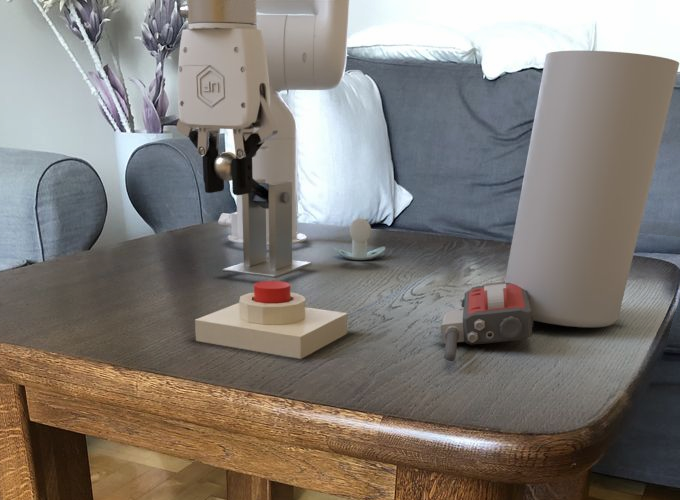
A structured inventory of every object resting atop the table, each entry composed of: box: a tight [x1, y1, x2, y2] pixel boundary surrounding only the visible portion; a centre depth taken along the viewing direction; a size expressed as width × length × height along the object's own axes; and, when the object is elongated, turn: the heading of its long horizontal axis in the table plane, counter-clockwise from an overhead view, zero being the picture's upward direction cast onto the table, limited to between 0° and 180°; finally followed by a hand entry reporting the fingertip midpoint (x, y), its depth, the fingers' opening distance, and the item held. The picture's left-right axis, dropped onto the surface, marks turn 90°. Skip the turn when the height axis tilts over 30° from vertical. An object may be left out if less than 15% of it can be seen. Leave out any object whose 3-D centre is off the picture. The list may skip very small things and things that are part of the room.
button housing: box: [194, 291, 348, 360], centre depth 82 cm, size 12×10×4 cm
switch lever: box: [214, 151, 269, 209], centre depth 101 cm, size 13×3×3 cm, turn 152°
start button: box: [253, 280, 291, 304], centre depth 81 cm, size 4×4×2 cm
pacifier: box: [333, 217, 386, 261], centre depth 115 cm, size 7×6×6 cm
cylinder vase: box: [504, 50, 680, 328], centre depth 85 cm, size 12×12×25 cm
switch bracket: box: [222, 179, 312, 279], centre depth 108 cm, size 10×8×12 cm
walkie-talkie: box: [440, 279, 534, 362], centre depth 81 cm, size 9×4×20 cm
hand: (228, 191), depth 98 cm, fingers closed on switch lever, 3 cm apart
